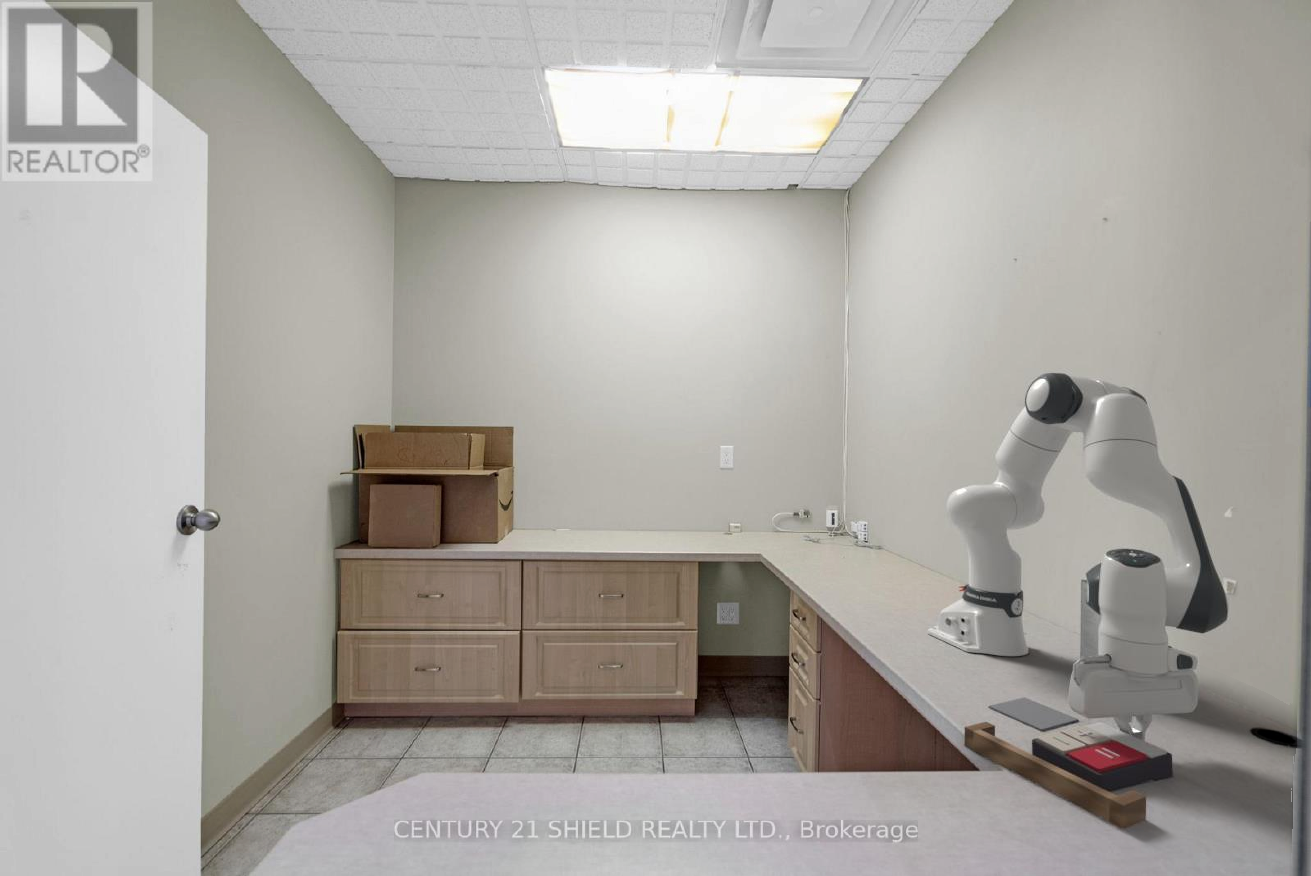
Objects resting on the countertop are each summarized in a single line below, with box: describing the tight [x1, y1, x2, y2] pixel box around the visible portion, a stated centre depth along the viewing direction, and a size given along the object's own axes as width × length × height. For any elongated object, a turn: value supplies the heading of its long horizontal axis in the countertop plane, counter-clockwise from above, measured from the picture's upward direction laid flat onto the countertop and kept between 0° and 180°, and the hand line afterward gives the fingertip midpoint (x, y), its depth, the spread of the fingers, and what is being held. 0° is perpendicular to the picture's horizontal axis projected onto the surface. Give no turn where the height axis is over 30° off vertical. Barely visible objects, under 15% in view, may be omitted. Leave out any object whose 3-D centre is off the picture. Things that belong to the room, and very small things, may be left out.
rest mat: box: [988, 697, 1079, 732], centre depth 111 cm, size 10×10×1 cm
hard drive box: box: [1079, 579, 1102, 663], centre depth 125 cm, size 16×8×20 cm, turn 168°
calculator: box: [1031, 721, 1174, 793], centre depth 94 cm, size 11×4×15 cm
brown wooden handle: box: [963, 721, 1147, 830], centre depth 90 cm, size 23×5×3 cm, turn 24°
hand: (1132, 740), depth 98 cm, fingers closed
